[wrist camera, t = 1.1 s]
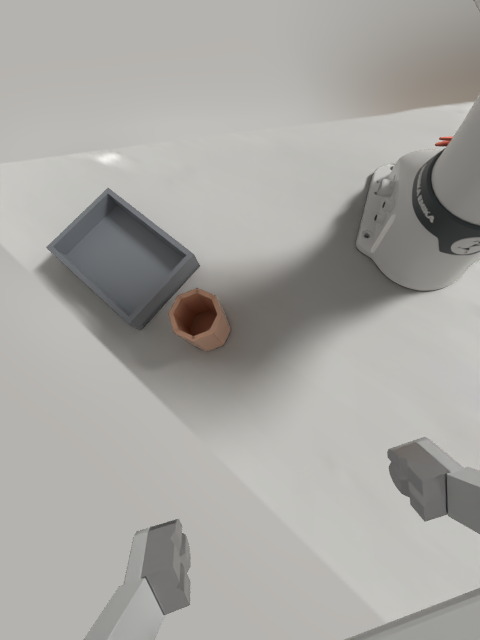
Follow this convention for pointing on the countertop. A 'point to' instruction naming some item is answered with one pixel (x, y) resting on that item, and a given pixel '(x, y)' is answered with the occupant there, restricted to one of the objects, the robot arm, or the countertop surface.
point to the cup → (199, 319)
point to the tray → (124, 258)
